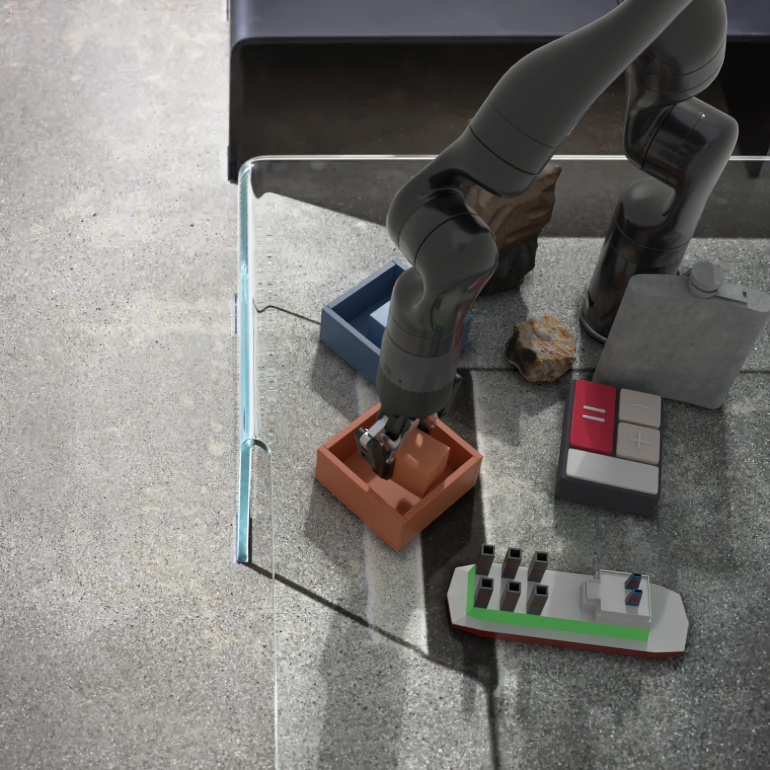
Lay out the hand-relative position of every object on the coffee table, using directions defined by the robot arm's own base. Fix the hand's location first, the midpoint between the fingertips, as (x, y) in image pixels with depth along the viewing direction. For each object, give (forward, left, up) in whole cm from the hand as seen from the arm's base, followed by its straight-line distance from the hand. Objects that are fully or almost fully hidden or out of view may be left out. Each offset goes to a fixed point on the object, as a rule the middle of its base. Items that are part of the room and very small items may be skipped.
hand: (399, 459), depth 124 cm
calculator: (-21, +14, -5) cm, 25 cm away
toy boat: (-2, +23, -5) cm, 24 cm away
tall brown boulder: (-30, -16, -5) cm, 34 cm away
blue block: (-14, -14, -4) cm, 20 cm away
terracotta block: (0, +2, -1) cm, 2 cm away
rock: (-26, -1, -5) cm, 27 cm away
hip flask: (-33, +12, -5) cm, 35 cm away
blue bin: (-14, -14, -5) cm, 20 cm away
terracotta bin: (0, 0, -5) cm, 5 cm away
